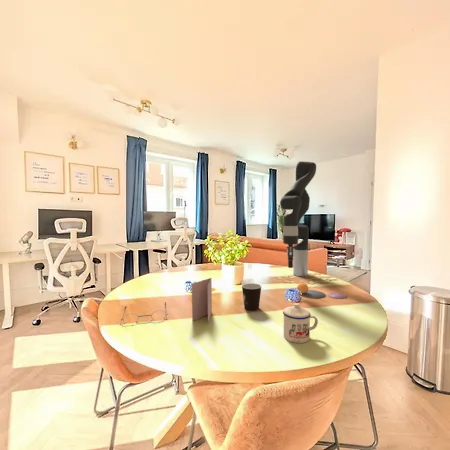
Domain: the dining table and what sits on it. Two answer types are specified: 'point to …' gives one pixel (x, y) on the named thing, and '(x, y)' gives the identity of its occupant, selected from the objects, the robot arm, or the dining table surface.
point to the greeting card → (202, 299)
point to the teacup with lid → (297, 324)
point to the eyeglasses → (143, 315)
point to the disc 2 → (337, 295)
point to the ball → (302, 288)
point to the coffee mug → (251, 296)
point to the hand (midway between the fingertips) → (290, 267)
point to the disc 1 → (314, 294)
